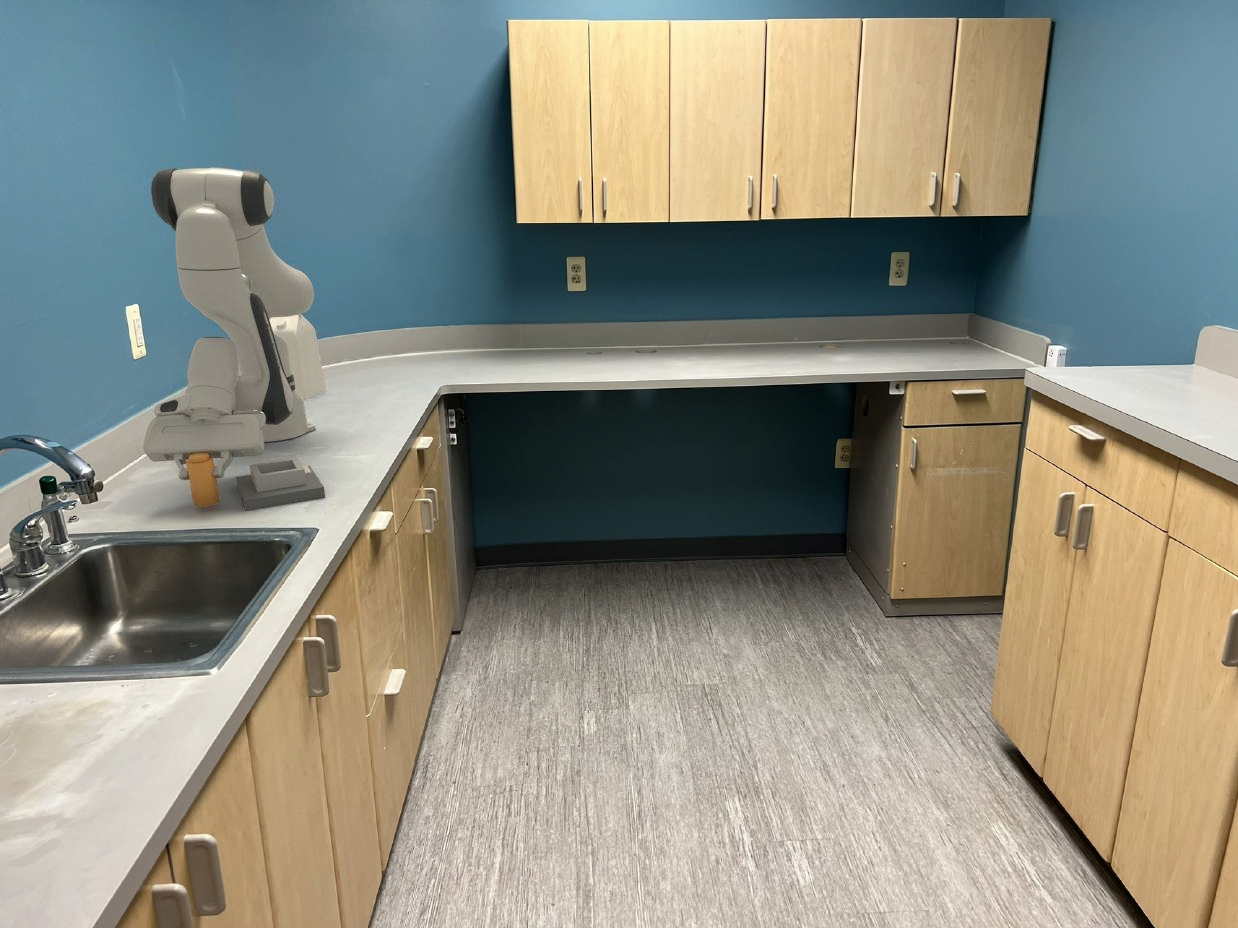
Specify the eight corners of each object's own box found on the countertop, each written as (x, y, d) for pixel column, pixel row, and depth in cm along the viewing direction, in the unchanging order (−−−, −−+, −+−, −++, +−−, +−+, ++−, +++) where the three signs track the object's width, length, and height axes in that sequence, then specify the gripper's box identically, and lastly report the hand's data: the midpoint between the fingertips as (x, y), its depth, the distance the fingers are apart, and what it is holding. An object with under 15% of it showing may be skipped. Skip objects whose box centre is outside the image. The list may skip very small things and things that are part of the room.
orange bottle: (193, 500, 159) (184, 454, 156) (219, 496, 161) (211, 450, 158) (194, 508, 155) (185, 460, 152) (220, 503, 157) (212, 456, 154)
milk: (326, 391, 256) (315, 302, 248) (305, 399, 245) (293, 307, 237) (289, 390, 258) (277, 302, 250) (267, 398, 247) (254, 307, 240)
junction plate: (237, 486, 171) (233, 462, 169) (310, 474, 177) (307, 451, 176) (246, 510, 157) (241, 484, 156) (325, 496, 164) (322, 471, 162)
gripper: (271, 417, 166) (266, 481, 160) (158, 423, 163) (148, 488, 157) (262, 400, 160) (256, 466, 154) (145, 405, 158) (134, 473, 151)
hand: (201, 477), depth 156 cm, fingers closed on orange bottle, 4 cm apart
